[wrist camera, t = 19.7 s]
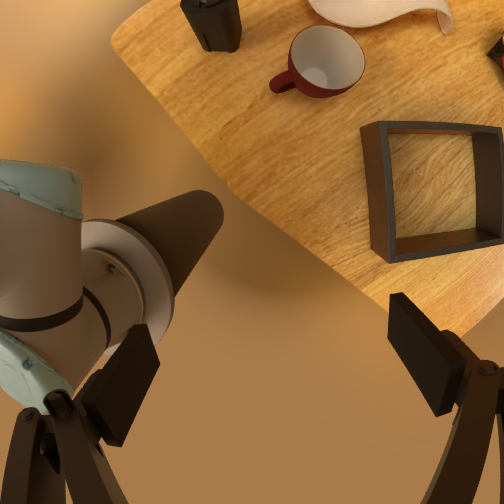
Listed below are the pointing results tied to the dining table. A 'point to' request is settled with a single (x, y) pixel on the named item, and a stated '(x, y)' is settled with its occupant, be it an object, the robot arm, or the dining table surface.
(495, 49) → the baking dish
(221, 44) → the candle
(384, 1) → the spoon rest
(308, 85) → the mug
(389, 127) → the dark rectangular frame
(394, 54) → the dining table surface
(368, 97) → the dining table surface
